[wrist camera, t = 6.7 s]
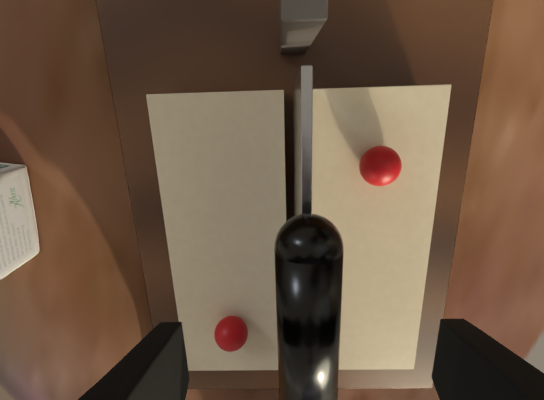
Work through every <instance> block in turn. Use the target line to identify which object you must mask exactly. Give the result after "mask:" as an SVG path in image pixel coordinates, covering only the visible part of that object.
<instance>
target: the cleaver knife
mask: <svg viewBox="0 0 544 400" xmlns="http://www.w3.org/2000/svg"><path fill="white" fill-rule="evenodd" d="M293 122H294V217H292V218H291V219H289V220H288V221H287V222H285V223H284V225H283V226H282V227H281V228H280V230H279V232H278V233H277V236H276V240H275V247H274V252H275V283H276V315H277V346H278V377H279V400H337V398H338V374H339V350H340V326H341V302H342V277H343V253H344V247H343V240H342V237H341V234H340V232H339V231H338V229H337V228H336V226H335V225H334V224H333V223H332V222H331V221H329V220H328V219H326V218H325V217H323V216H320V215H317V214H312V131H313V65H302V66H300V68H299V69H298V70H297V72H296V73H295V74H294V75H293Z"/></svg>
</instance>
